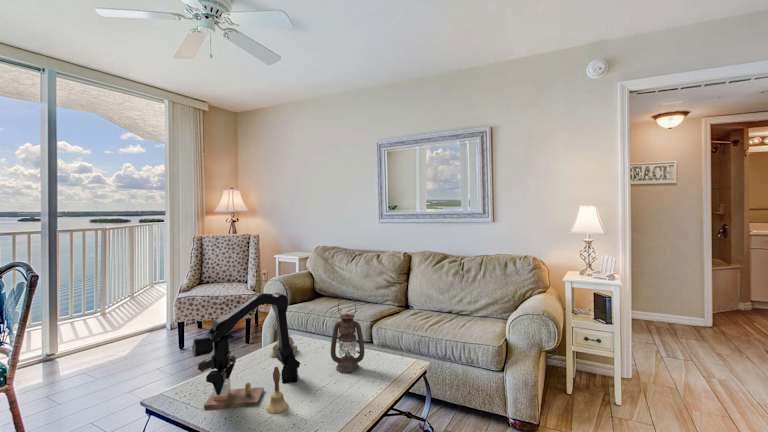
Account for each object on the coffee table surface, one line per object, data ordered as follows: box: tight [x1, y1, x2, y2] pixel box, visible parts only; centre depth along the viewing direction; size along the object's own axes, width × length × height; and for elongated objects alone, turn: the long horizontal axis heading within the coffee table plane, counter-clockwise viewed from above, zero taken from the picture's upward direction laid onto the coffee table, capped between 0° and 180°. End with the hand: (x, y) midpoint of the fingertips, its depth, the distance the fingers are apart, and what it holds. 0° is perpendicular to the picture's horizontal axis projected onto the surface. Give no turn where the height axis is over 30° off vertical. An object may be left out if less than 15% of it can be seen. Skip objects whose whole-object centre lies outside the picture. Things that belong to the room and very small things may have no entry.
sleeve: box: [212, 378, 231, 400], centre depth 148 cm, size 5×5×6 cm
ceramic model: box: [269, 335, 298, 359], centre depth 197 cm, size 14×11×10 cm
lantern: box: [330, 295, 365, 374], centre depth 177 cm, size 11×16×35 cm
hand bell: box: [265, 366, 289, 415], centre depth 142 cm, size 8×8×16 cm
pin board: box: [203, 382, 265, 410], centre depth 149 cm, size 20×12×6 cm, turn 97°
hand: (222, 389), depth 148 cm, fingers open, 9 cm apart
